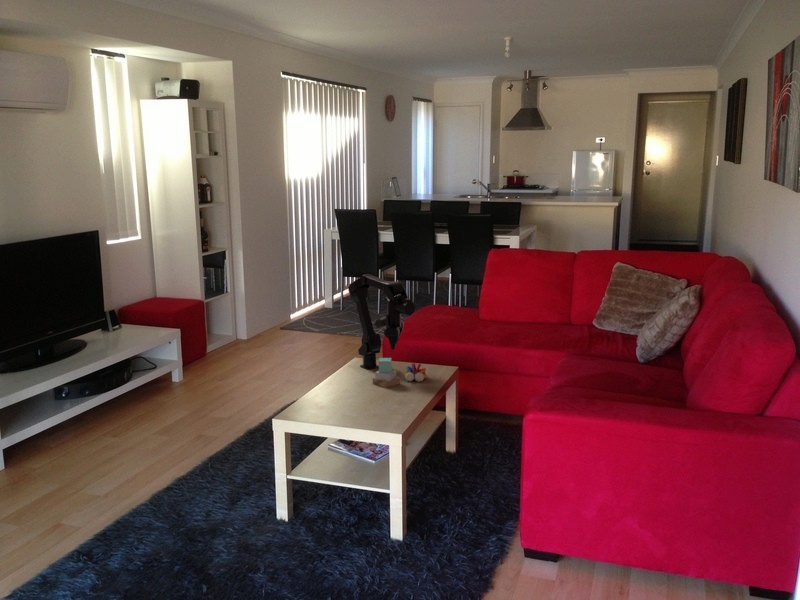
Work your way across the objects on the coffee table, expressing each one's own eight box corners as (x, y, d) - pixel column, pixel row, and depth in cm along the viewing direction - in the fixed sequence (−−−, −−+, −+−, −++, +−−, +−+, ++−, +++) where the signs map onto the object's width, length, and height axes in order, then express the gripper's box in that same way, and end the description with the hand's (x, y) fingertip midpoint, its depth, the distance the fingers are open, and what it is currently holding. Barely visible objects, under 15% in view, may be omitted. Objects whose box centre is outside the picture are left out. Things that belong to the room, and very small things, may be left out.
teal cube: (378, 372, 291) (378, 361, 290) (379, 369, 296) (379, 358, 295) (390, 372, 291) (390, 361, 290) (391, 369, 296) (391, 357, 295)
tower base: (372, 385, 294) (372, 378, 294) (386, 381, 300) (386, 374, 299) (386, 389, 289) (385, 382, 288) (399, 384, 294) (399, 378, 294)
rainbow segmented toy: (425, 383, 295) (425, 366, 294) (402, 382, 296) (402, 365, 295) (427, 377, 303) (427, 360, 302) (405, 376, 305) (405, 360, 303)
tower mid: (375, 379, 292) (375, 372, 292) (382, 375, 298) (382, 368, 297) (389, 381, 289) (389, 374, 289) (396, 377, 295) (396, 370, 295)
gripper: (378, 306, 311) (379, 340, 314) (371, 315, 293) (372, 352, 296) (403, 307, 309) (403, 341, 313) (398, 316, 291) (398, 352, 294)
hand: (394, 346), depth 304 cm, fingers open, 9 cm apart
